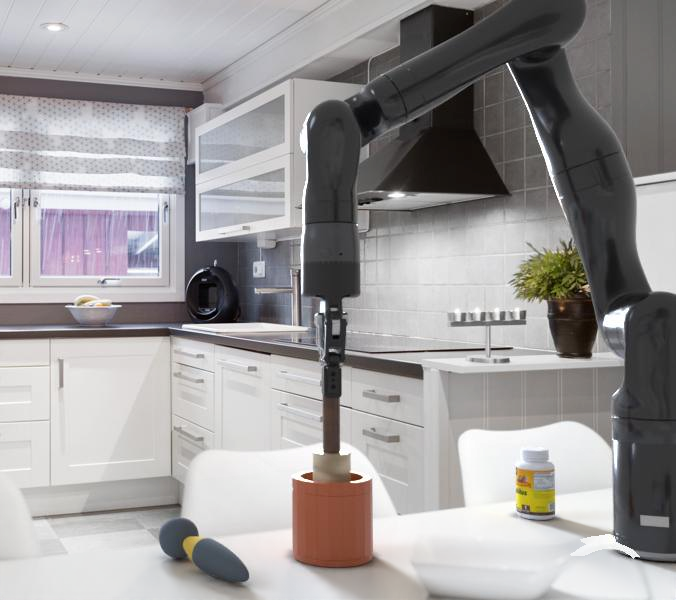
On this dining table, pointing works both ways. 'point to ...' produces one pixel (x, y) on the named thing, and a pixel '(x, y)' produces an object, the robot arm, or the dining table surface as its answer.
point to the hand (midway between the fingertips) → (331, 396)
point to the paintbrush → (201, 550)
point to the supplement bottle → (535, 484)
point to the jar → (332, 520)
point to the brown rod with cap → (331, 446)
